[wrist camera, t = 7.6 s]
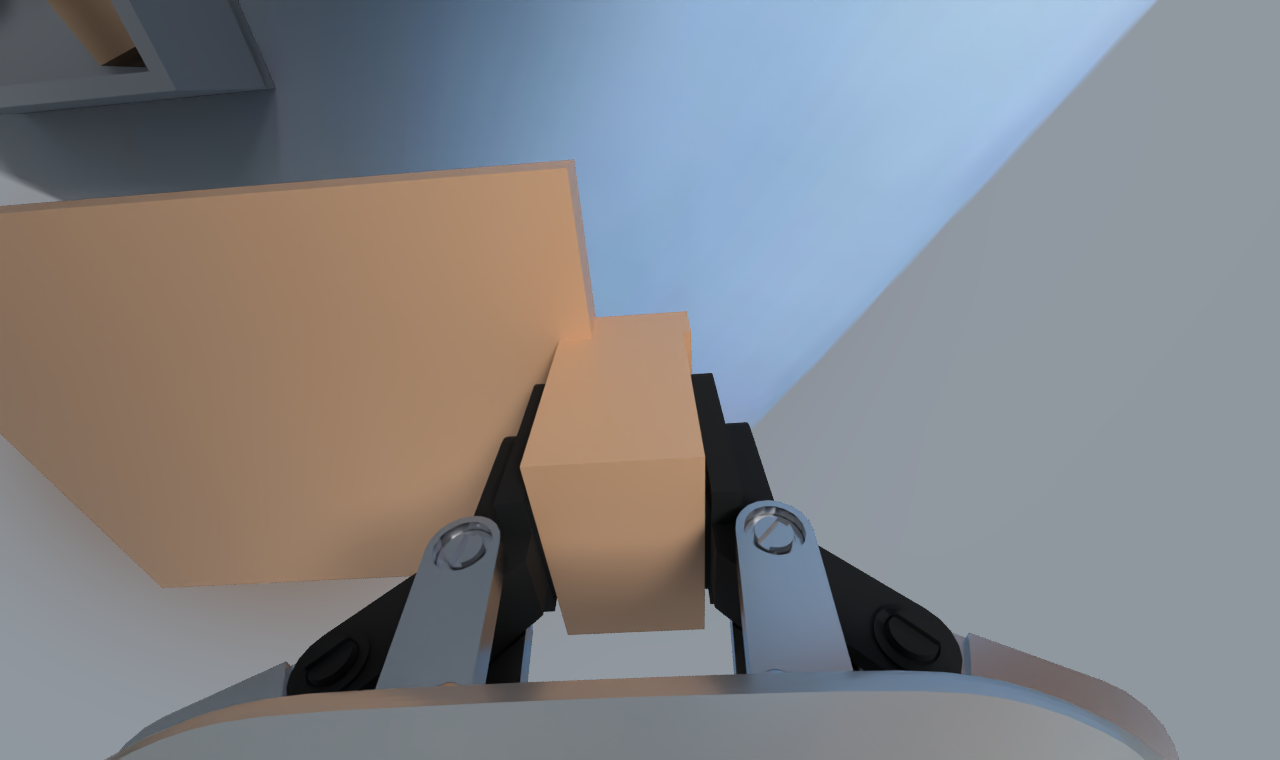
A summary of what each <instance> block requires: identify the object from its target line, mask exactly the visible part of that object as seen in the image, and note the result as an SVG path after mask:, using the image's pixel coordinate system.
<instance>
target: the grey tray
mask: <svg viewBox="0 0 1280 760" xmlns="http://www.w3.org/2000/svg"><path fill="white" fill-rule="evenodd" d="M110 1H111V3H112V4H113V6H114V8H115V10H116V12H117V13H118V15H119V17H120V19H121V21H122V23H123V24H124V26H125V28H126V30H127V32H128V34H129V35H130V37H131V39H132V41H133V43H134V45H135V46H136V48H137V50H138V52H139V54H140V56H141V57H142V59H143V61H144V63H145V65H146V66H145V67H118V66H100V65H99V64H98V63H97V61H96V60H95V59H94V58H93V56H92V55H91V54H90V53H89V52H88V50H87V49H86V48H85V47H84V45H83V44H82V43H81V42H80V41H79V39H78V38H77V37H76V36H75V34H74V33H73V32H72V31H71V30H70V28H69V27H68V26H67V25H66V23H65V22H64V21H63V20H62V19H61V17H60V16H59V15H58V14H57V12H56V11H55V10H54V9H53V8H52V6H51V5H50V4H49V3H48V1H47V0H0V115H2V114H22V113H32V112H42V111H52V110H63V109H73V108H83V107H93V106H103V105H113V104H124V103H134V102H144V101H154V100H164V99H175V98H185V97H195V96H205V95H215V94H225V93H236V92H246V91H256V90H266V89H275V86H274V84H273V82H272V79H271V77H270V75H269V72H268V70H267V68H266V65H265V63H264V61H263V58H262V56H261V54H260V51H259V49H258V47H257V45H256V42H255V40H254V38H253V35H252V33H251V31H250V28H249V26H248V24H247V21H246V19H245V17H244V14H243V12H242V10H241V7H240V5H239V3H238V0H110Z"/></svg>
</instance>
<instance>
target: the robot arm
mask: <svg viewBox="0 0 1280 760" xmlns="http://www.w3.org/2000/svg"><path fill="white" fill-rule="evenodd" d="M690 375H691V381H692V386H693V392H694V398H695V403H696V409H697V414H698V420H699V425H700V431H701V436H702V442H703V448H704V453H705V589H708V590H709V597H710V604H714V605H715V608H716V609H718V610H719V611H720V612H722V613H723V614H724V615H725V616H727V617H728V618H729V619H730V628H731V641H732V653H733V666H734V675H705V676H679V677H651V678H626V679H600V680H577V681H552V682H528V674H529V664H530V653H531V645H532V635H533V626H532V624H533V623H534V622H536V620H538V619H539V618H540V617H541V616H542V615H543V612H547V611H555V607H556V600H557V595H556V591H555V588H554V585H553V581H552V578H551V574H550V571H549V567H548V564H547V560H546V557H545V553H544V550H543V546H542V543H541V539H540V536H539V532H538V529H537V525H536V522H535V518H534V515H533V512H532V508H531V505H530V501H529V498H528V494H527V491H526V487H525V484H524V480H523V477H522V473H521V470H520V465H521V461H522V458H523V455H524V452H525V449H526V445H527V442H528V439H529V436H530V433H531V429H532V426H533V423H534V420H535V416H536V413H537V410H538V407H539V404H540V400H541V397H542V394H543V391H544V388H545V384H536V385H534V387H533V390H532V393H531V396H530V399H529V402H528V405H527V408H526V410H525V413H524V416H523V419H522V422H521V425H520V428H519V431H518V434H517V436H509V437H505V438H504V439H503V441H502V443H501V446H500V448H499V451H498V453H497V456H496V459H495V461H494V464H493V467H492V469H491V472H490V474H489V477H488V480H487V482H486V485H485V487H484V490H483V493H482V495H481V498H480V501H479V503H478V506H477V508H476V511H475V514H474V516H469V517H465V518H460V519H458V520H456V521H453V522H451V523H449V524H447V525H446V526H445V527H443V528H442V529H440V530H439V531H438V532H437V533H436V534H435V535H434V536H433V537H432V538H431V540H430V541H429V543H428V545H427V547H426V549H425V551H424V554H423V556H422V559H421V562H420V565H419V568H418V571H417V573H415V574H414V575H412V576H411V577H409V578H408V579H406V580H405V581H403V582H402V583H401V584H399V585H397V586H396V587H394V588H393V589H392V590H390V591H389V592H387V593H386V594H384V595H383V596H381V597H380V598H378V599H377V600H375V601H374V602H372V603H371V604H369V605H368V606H367V607H365V608H364V609H362V610H361V611H359V612H358V613H356V614H355V615H353V616H352V617H350V618H349V619H347V620H346V621H345V622H343V623H341V624H340V625H338V626H337V627H335V628H334V629H332V630H331V631H330V632H328V633H327V634H325V635H324V636H322V637H321V638H320V639H319V640H317V641H316V642H315V643H314V644H313V645H311V646H310V647H309V648H308V649H307V650H306V652H305V653H304V654H303V655H302V656H301V657H300V658H299V660H298V662H297V663H296V664H294V665H292V666H290V665H289V664H288V663H287V662H284V663H282V664H279V665H277V666H275V667H273V668H270V669H268V670H266V671H264V672H262V673H260V674H257V675H255V676H253V677H251V678H249V679H246V680H244V681H242V682H239V683H238V684H235V685H233V686H231V687H228V688H226V689H224V690H222V691H220V692H218V693H215V694H213V695H211V696H209V697H207V698H204V699H202V700H200V701H198V702H195V703H193V704H191V705H189V706H187V707H184V708H182V709H180V710H178V711H176V712H173V713H171V714H169V715H167V716H165V717H163V718H161V719H159V720H157V721H156V722H154V723H152V724H151V725H149V726H147V727H146V728H144V729H143V730H142V731H140V732H139V733H138V734H137V735H136V736H134V737H133V738H132V739H131V740H130V741H128V742H127V743H126V744H125V745H124V746H123V747H122V749H121V750H120V751H119V752H118V753H116V754H114V755H113V756H111V757H109V758H107V759H106V760H1179V757H1178V754H1177V751H1176V749H1175V746H1174V744H1173V742H1172V740H1171V738H1170V736H1169V735H1168V733H1167V731H1166V729H1165V727H1164V725H1163V724H1161V722H1160V721H1159V720H1158V719H1157V718H1156V717H1155V716H1154V715H1153V713H1151V711H1150V710H1149V709H1148V708H1147V707H1146V706H1145V705H1143V704H1142V703H1141V702H1139V701H1138V700H1137V699H1135V698H1134V697H1133V696H1131V695H1130V694H1128V693H1127V692H1126V691H1124V690H1122V689H1120V688H1118V687H1116V686H1113V685H1111V684H1109V683H1107V682H1105V681H1103V680H1100V679H1097V678H1094V677H1091V676H1089V675H1086V674H1083V673H1080V672H1077V671H1074V670H1072V669H1069V668H1066V667H1063V666H1061V665H1058V664H1055V663H1052V662H1049V661H1047V660H1044V659H1041V658H1038V657H1036V656H1033V655H1030V654H1027V653H1025V652H1022V651H1019V650H1016V649H1014V648H1011V647H1008V646H1005V645H1002V644H1000V643H997V642H994V641H991V640H988V639H986V638H983V637H980V636H977V635H974V634H972V633H968V635H967V637H966V638H965V637H962V636H959V635H957V634H954V633H952V632H951V631H950V630H949V629H948V628H947V626H946V625H945V624H944V623H943V622H942V621H941V620H940V619H939V618H938V617H936V616H935V615H933V614H932V613H931V612H929V611H928V610H927V609H925V608H923V607H922V606H920V605H918V604H917V603H914V602H913V601H912V600H910V599H908V598H906V597H905V596H903V595H901V594H900V593H898V592H896V591H894V590H893V589H891V588H889V587H888V586H886V585H884V584H883V583H881V582H879V581H877V580H876V579H874V578H872V577H870V576H869V575H867V574H866V573H864V572H862V571H860V570H859V569H857V568H856V567H854V566H852V565H851V564H849V563H847V562H845V561H844V560H842V559H840V558H839V557H837V556H835V555H834V554H832V553H830V552H828V551H827V550H825V549H823V548H821V547H820V546H818V544H817V540H816V536H815V533H814V529H813V527H812V525H811V523H810V521H809V520H808V519H807V518H806V517H805V515H804V514H803V513H802V512H800V511H799V510H797V509H796V508H794V507H793V506H791V505H788V504H785V503H782V502H779V501H774V499H773V496H772V493H771V490H770V487H769V484H768V481H767V478H766V475H765V472H764V469H763V466H762V463H761V459H760V456H759V453H758V450H757V447H756V445H755V441H754V438H753V435H752V432H751V429H750V426H749V424H748V423H747V422H744V423H727V424H725V421H724V417H723V413H722V409H721V405H720V401H719V397H718V393H717V389H716V386H715V382H714V378H713V374H712V373H706V374H690Z"/></svg>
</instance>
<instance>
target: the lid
mask: <svg viewBox="0 0 1280 760" xmlns="http://www.w3.org/2000/svg"><path fill="white" fill-rule="evenodd" d="M690 374H692V355H691V329H690V324H689V320H688V315H687V311H684V312H669V313H655V314H640V315H625V316H611V317H596V316H595V309H594V301H593V294H592V287H591V279H590V272H589V265H588V257H587V250H586V243H585V235H584V228H583V221H582V213H581V206H580V198H579V191H578V184H577V176H576V169H575V162H574V160H563V161H550V162H538V163H526V164H514V165H501V166H489V167H477V168H464V169H452V170H440V171H427V172H415V173H403V174H390V175H378V176H366V177H353V178H341V179H329V180H316V181H304V182H292V183H279V184H267V185H255V186H242V187H230V188H218V189H205V190H193V191H181V192H168V193H156V194H144V195H131V196H119V197H107V198H94V199H82V200H70V201H57V202H46V203H33V204H21V205H8V206H0V434H1V435H2V436H3V437H4V438H6V439H7V440H8V441H9V442H10V443H11V444H12V445H13V446H14V447H15V448H16V449H17V450H18V451H19V452H20V453H21V454H22V455H23V456H24V457H25V458H26V459H27V460H28V461H30V462H31V463H32V464H33V465H34V466H35V467H36V468H37V469H38V470H39V471H40V472H41V473H42V474H43V475H44V476H45V477H46V478H47V479H48V480H49V481H50V482H52V483H53V484H54V485H55V486H56V487H57V488H58V489H59V490H60V491H61V492H62V493H63V494H64V495H65V496H66V497H67V498H68V499H69V500H70V501H71V502H73V503H74V504H75V505H76V506H77V507H78V508H79V509H80V510H81V511H82V512H83V513H84V514H85V515H86V516H87V517H88V518H89V519H90V520H91V521H93V522H94V523H95V524H96V525H97V526H98V527H99V528H100V529H101V530H102V531H103V532H104V533H105V534H106V535H107V536H108V537H110V539H112V541H113V542H115V543H116V544H117V545H118V546H119V547H120V548H121V549H122V550H123V551H124V552H125V553H126V554H127V555H128V556H129V557H130V558H131V559H133V560H134V561H135V562H136V563H137V564H138V565H139V566H140V567H141V568H142V569H143V570H144V571H145V572H146V573H147V574H148V575H149V576H150V577H151V578H152V579H153V580H154V581H155V582H157V583H158V584H159V585H160V586H161V587H162V588H173V587H194V586H215V585H236V584H257V583H277V582H296V581H317V580H318V581H319V580H339V579H358V578H378V577H379V578H381V577H401V576H412V575H414V574H415V573H417V571H418V568H419V565H420V562H421V559H422V556H423V554H424V551H425V549H426V547H427V545H428V543H429V541H430V540H431V538H432V537H433V536H434V535H435V534H436V533H437V532H438V531H439V530H440V529H442V528H443V527H445V526H446V525H447V524H449V523H451V522H453V521H456V520H458V519H460V518H465V517H469V516H474V514H475V511H476V508H477V506H478V503H479V501H480V498H481V495H482V493H483V490H484V487H485V485H486V482H487V480H488V477H489V474H490V472H491V469H492V467H493V464H494V461H495V459H496V456H497V453H498V451H499V448H500V446H501V443H502V441H503V439H504V438H505V437H509V436H517V434H518V431H519V428H520V425H521V422H522V419H523V416H524V413H525V410H526V408H527V405H528V402H529V399H530V396H531V393H532V390H533V387H534V385H536V384H545V388H544V391H543V394H542V397H541V400H540V404H539V407H538V410H537V413H536V416H535V420H534V423H533V426H532V429H531V433H530V436H529V439H528V442H527V445H526V449H525V452H524V455H523V458H522V461H521V465H520V470H521V473H522V477H523V480H524V484H525V487H526V491H527V494H528V498H529V501H530V505H531V508H532V512H533V515H534V518H535V522H536V525H537V529H538V532H539V536H540V539H541V543H542V546H543V550H544V553H545V557H546V560H547V564H548V567H549V571H550V574H551V578H552V581H553V585H554V588H555V591H556V595H557V598H558V601H559V605H560V608H561V612H562V616H563V619H564V622H565V626H566V629H567V633H568V635H577V634H600V633H622V632H645V631H669V630H693V629H704V616H705V613H704V611H705V453H704V448H703V442H702V436H701V431H700V425H699V420H698V414H697V409H696V403H695V398H694V392H693V386H692V381H691V375H690Z"/></svg>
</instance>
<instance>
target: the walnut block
mask: <svg viewBox="0 0 1280 760" xmlns="http://www.w3.org/2000/svg"><path fill="white" fill-rule="evenodd" d="M47 1H48V3H49V4H50V5H51V6H52V8H53V9H54V10H55V11H56V12H57V14H58V15H59V16H60V17H61V19H62V20H63V21H64V22H65V23H66V25H67V26H68V27H69V28H70V30H71V31H72V32H73V33H74V34H75V36H76V37H77V38H78V39H79V41H80V42H81V43H82V44H83V45H84V47H85V48H86V49H87V50H88V52H89V53H90V54H91V55H92V56H93V58H94V59H95V60H96V61H97V63H98V64H99V65H100V66H118V67H145V66H146V65H145V63H144V61H143V59H142V57H141V56H140V54H139V52H138V50H137V48H136V46H135V45H134V43H133V41H132V39H131V37H130V35H129V34H128V32H127V30H126V28H125V26H124V24H123V23H122V21H121V19H120V17H119V15H118V13H117V12H116V10H115V8H114V6H113V4H112V3H111V1H110V0H47Z"/></svg>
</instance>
